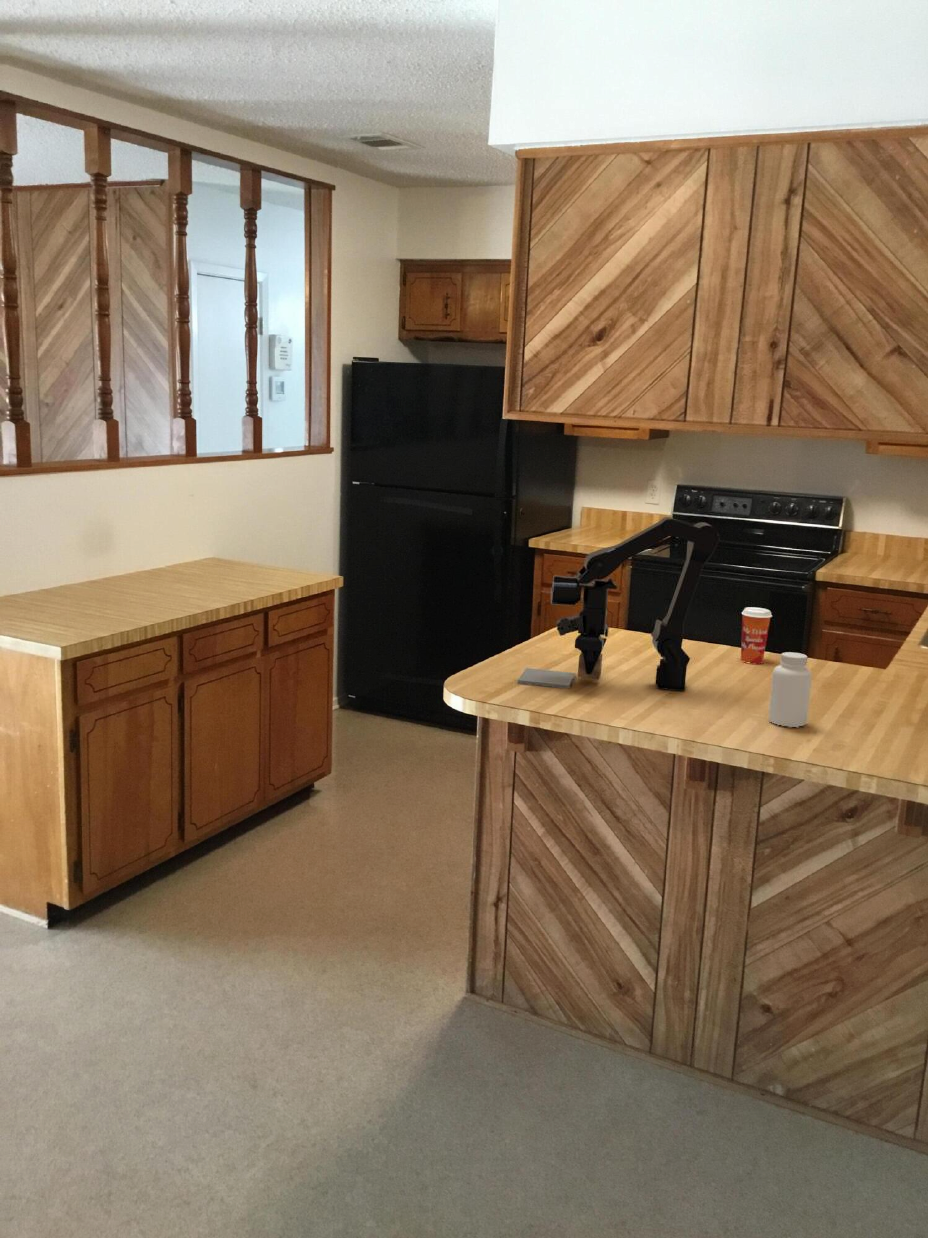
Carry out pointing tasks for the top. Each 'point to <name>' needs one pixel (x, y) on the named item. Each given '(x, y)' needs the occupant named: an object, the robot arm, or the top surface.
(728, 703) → the top surface
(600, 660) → the walnut block
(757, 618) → the paper cup
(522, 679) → the plate
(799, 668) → the pill bottle
